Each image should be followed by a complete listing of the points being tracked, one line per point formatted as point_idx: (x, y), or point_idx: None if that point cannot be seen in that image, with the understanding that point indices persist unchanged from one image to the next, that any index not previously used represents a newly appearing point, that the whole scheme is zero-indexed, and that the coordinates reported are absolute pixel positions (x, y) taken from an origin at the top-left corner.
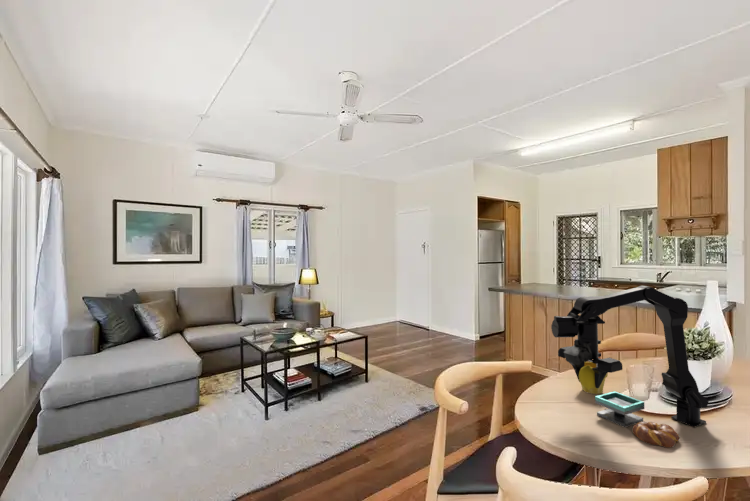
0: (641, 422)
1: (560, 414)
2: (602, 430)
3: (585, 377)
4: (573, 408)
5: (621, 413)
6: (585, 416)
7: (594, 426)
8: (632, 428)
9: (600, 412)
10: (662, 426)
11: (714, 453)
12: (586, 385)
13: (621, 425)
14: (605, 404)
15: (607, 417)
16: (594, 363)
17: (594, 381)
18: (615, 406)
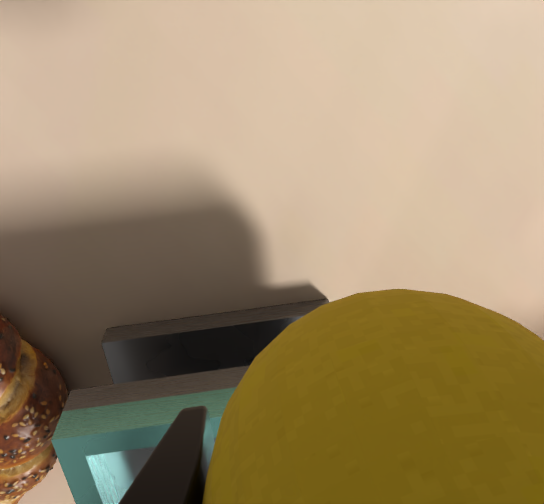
0: (7, 432)
1: (479, 10)
2: (104, 137)
3: (358, 431)
4: (495, 219)
5: (98, 389)
6: (349, 201)
7: (182, 130)
8: (1, 333)
9: None
10: None
11: None
12: (315, 313)
13: (127, 327)
14: None
15: (241, 321)
16: None
17: (205, 497)
18: (149, 412)
